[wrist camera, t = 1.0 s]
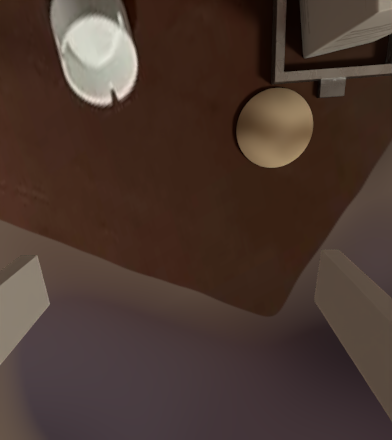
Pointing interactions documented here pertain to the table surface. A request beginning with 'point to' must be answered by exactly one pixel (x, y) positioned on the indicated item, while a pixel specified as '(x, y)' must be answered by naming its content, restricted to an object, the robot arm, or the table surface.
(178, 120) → the table surface
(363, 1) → the supplement box
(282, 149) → the coaster
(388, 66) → the grey frame with tab
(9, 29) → the table surface
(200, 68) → the table surface
